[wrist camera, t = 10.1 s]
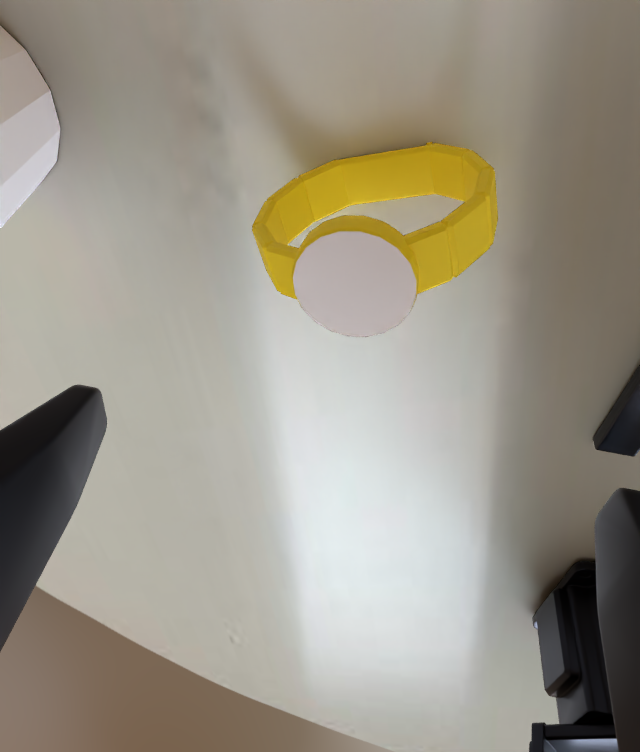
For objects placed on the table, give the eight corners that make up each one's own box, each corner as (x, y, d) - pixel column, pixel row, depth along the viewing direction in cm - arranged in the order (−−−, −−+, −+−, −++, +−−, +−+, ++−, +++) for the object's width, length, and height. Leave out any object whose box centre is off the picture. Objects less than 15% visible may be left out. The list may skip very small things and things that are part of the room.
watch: (486, 101, 15) (503, 204, 11) (493, 200, 17) (510, 323, 13) (271, 146, 17) (211, 250, 13) (297, 232, 19) (252, 350, 14)
